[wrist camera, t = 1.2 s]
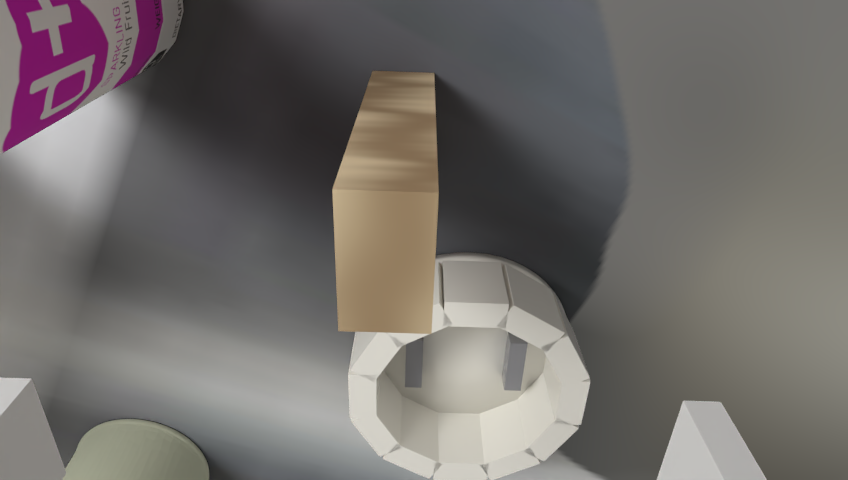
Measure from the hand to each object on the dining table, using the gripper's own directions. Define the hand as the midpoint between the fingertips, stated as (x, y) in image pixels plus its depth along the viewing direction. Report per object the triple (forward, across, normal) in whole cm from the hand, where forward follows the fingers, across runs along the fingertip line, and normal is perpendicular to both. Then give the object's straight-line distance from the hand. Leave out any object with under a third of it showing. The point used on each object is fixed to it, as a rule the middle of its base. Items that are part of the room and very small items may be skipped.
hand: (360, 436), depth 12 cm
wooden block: (+20, 0, 0) cm, 21 cm away
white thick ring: (+20, +4, -14) cm, 25 cm away
